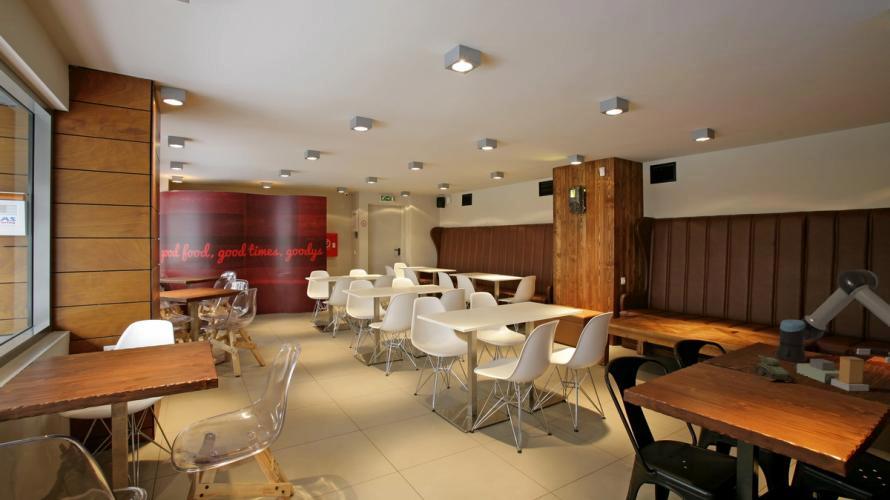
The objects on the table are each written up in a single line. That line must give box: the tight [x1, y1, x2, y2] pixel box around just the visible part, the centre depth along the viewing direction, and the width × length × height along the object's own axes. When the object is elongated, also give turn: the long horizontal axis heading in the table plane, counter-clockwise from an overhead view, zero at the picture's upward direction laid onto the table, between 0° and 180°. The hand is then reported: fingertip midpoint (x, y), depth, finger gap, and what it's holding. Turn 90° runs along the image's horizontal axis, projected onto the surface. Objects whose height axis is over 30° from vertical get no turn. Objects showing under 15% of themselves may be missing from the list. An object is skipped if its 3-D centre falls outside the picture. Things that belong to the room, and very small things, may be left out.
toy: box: [755, 354, 793, 383], centre depth 229 cm, size 10×18×10 cm, turn 175°
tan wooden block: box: [838, 356, 865, 384], centre depth 215 cm, size 5×7×15 cm
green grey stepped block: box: [793, 358, 870, 392], centre depth 225 cm, size 29×13×9 cm, turn 4°
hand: (871, 355), depth 216 cm, fingers open, 13 cm apart
